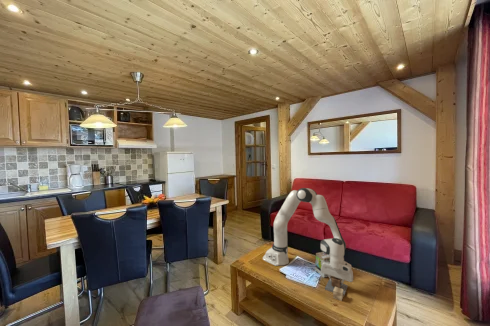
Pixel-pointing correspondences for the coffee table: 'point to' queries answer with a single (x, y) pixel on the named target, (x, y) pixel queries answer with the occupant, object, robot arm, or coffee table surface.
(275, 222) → the robot arm
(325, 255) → the tea box
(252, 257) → the coffee table surface
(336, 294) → the maple cube
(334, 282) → the walnut cube
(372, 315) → the coffee table surface
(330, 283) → the slate coaster
